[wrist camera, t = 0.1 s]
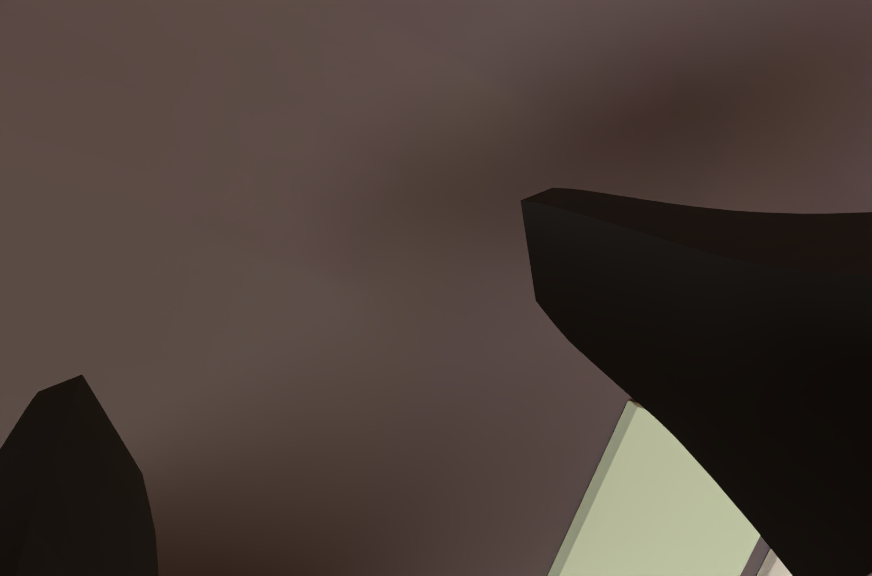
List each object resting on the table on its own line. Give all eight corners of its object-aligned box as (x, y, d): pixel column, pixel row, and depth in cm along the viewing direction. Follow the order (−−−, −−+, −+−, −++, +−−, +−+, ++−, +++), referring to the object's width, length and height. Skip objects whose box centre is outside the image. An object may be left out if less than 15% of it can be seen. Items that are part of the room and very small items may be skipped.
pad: (679, 670, 34) (687, 679, 34) (509, 658, 30) (515, 669, 29) (790, 446, 33) (801, 453, 32) (628, 400, 28) (637, 407, 28)
